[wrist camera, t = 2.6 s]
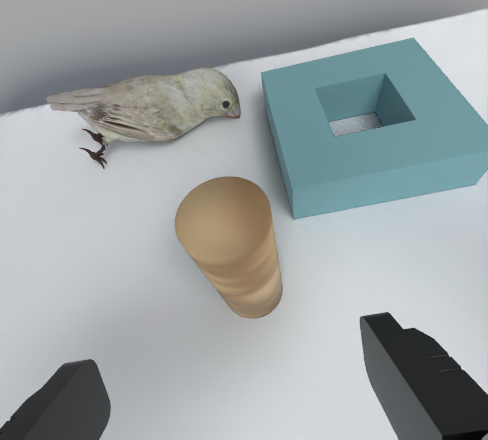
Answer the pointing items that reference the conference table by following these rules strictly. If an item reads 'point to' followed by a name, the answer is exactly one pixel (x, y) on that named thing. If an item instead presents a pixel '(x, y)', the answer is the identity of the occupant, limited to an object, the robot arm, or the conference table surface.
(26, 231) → the conference table surface
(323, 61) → the socket block
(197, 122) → the decorative bird
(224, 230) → the peg
